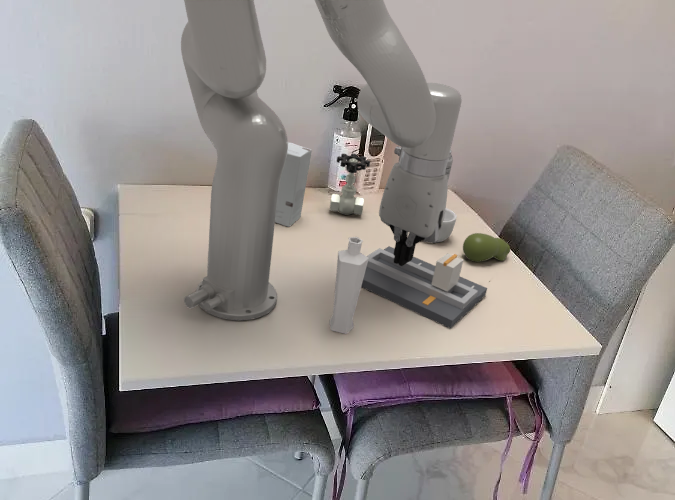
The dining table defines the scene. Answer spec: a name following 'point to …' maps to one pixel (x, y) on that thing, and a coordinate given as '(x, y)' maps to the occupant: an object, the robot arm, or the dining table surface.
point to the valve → (349, 186)
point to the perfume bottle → (348, 285)
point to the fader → (447, 272)
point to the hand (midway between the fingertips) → (401, 261)
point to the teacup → (447, 225)
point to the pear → (485, 247)
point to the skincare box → (292, 184)
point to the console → (419, 288)
